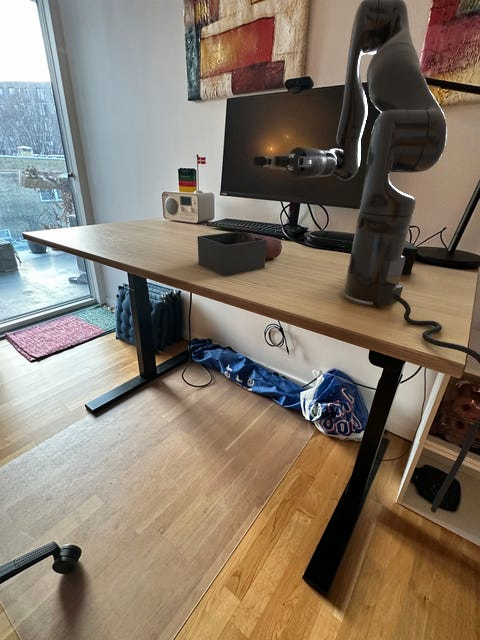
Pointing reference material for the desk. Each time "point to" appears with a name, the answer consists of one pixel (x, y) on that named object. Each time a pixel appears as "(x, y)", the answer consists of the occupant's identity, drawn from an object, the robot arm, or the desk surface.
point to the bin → (230, 253)
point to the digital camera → (409, 257)
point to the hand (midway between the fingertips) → (264, 160)
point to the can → (271, 244)
